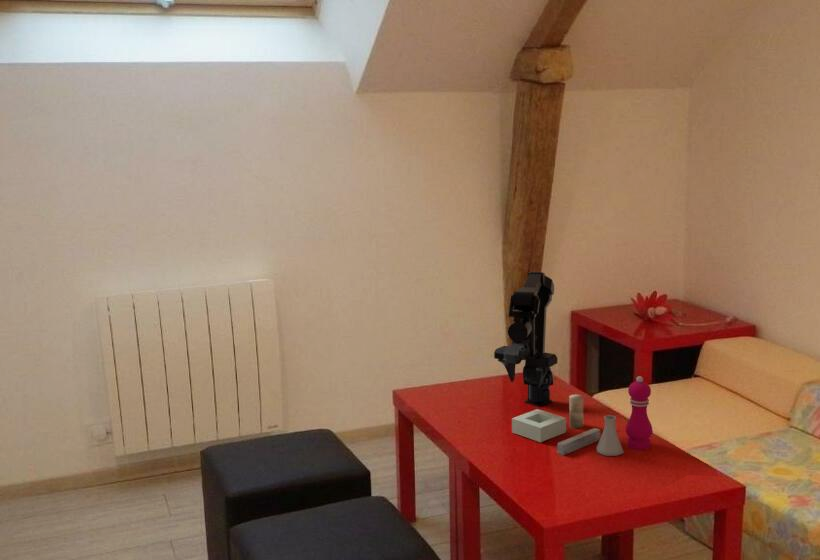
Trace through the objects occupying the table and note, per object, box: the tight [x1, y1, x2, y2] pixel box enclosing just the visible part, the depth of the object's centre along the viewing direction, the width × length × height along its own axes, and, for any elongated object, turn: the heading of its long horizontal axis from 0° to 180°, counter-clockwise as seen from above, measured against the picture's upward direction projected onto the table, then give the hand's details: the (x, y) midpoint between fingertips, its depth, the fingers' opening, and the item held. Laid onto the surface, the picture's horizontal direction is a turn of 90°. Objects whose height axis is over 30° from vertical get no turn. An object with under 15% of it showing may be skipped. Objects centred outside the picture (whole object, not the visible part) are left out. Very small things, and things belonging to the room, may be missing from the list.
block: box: [511, 408, 567, 443], centre depth 258 cm, size 11×11×4 cm
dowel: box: [568, 394, 584, 429], centre depth 262 cm, size 4×4×9 cm
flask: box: [596, 414, 624, 457], centre depth 242 cm, size 7×7×10 cm
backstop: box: [556, 427, 601, 456], centre depth 247 cm, size 2×16×3 cm, turn 130°
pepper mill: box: [625, 375, 654, 451], centre depth 244 cm, size 7×7×20 cm
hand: (525, 384), depth 263 cm, fingers open, 9 cm apart
